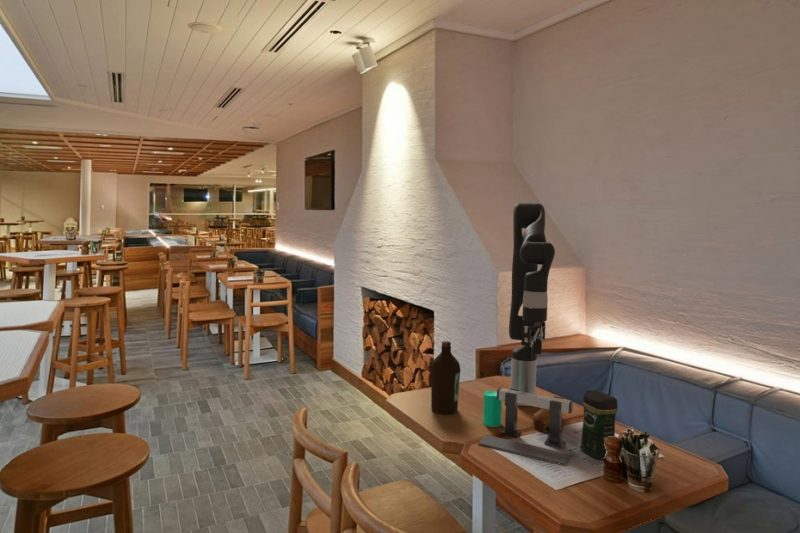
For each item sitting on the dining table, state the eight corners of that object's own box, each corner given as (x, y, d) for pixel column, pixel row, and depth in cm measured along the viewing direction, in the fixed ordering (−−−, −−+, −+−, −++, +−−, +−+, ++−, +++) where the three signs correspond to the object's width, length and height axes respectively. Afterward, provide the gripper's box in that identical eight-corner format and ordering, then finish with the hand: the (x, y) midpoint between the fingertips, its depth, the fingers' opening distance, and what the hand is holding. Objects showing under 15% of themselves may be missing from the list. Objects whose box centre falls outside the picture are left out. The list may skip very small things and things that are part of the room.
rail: (499, 396, 171) (500, 387, 171) (572, 410, 160) (573, 400, 160) (496, 399, 169) (497, 390, 168) (570, 413, 158) (571, 403, 157)
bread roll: (563, 437, 176) (566, 413, 179) (560, 434, 167) (562, 409, 170) (533, 431, 180) (536, 408, 183) (529, 428, 171) (532, 404, 174)
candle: (500, 427, 173) (502, 392, 172) (482, 426, 175) (484, 391, 174) (501, 421, 179) (502, 387, 178) (483, 419, 181) (484, 385, 179)
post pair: (505, 429, 172) (507, 387, 171) (564, 441, 163) (566, 398, 162) (500, 434, 168) (502, 392, 166) (560, 448, 158) (563, 403, 157)
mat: (486, 436, 166) (486, 434, 166) (570, 455, 154) (570, 453, 153) (478, 444, 160) (478, 442, 160) (565, 465, 147) (565, 463, 147)
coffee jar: (619, 458, 153) (623, 396, 151) (597, 462, 150) (601, 399, 148) (596, 444, 162) (600, 386, 160) (575, 448, 159) (578, 388, 157)
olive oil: (427, 413, 185) (429, 344, 182) (431, 403, 195) (433, 337, 193) (457, 416, 183) (460, 346, 180) (460, 406, 193) (462, 339, 191)
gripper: (531, 302, 172) (529, 350, 173) (514, 306, 160) (512, 358, 161) (554, 304, 168) (552, 354, 169) (538, 309, 156) (536, 362, 157)
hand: (532, 356), depth 165 cm, fingers open, 8 cm apart
